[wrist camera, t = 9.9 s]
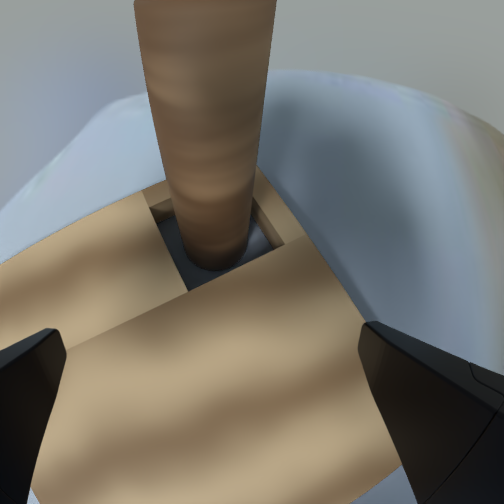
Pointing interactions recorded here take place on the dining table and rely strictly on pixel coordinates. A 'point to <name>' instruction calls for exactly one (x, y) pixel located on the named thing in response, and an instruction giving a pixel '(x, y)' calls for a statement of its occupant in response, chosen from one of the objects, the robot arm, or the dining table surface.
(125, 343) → the stool top
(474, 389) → the robot arm
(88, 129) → the dining table surface
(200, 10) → the stool leg
